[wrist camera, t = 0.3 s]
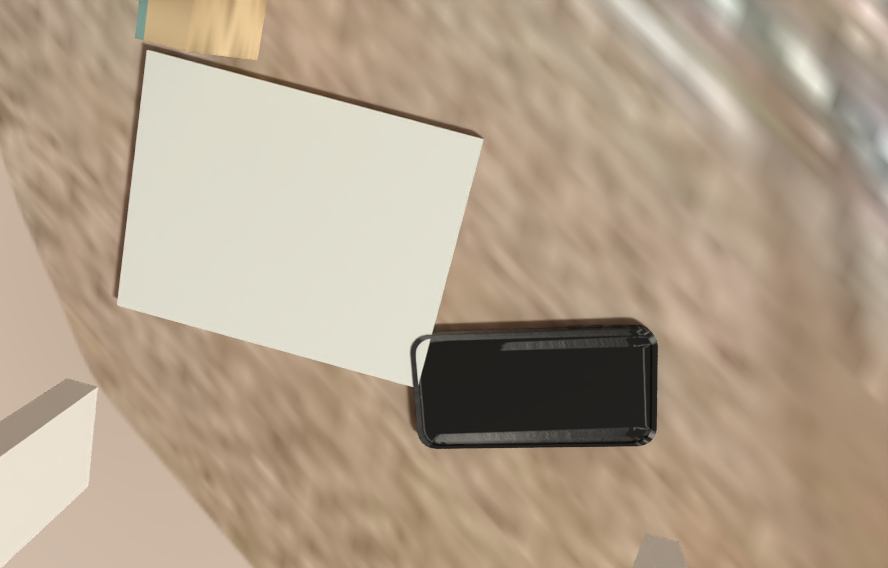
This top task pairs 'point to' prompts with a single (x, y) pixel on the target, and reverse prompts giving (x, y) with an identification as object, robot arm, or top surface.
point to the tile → (204, 25)
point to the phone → (537, 387)
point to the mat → (291, 217)
